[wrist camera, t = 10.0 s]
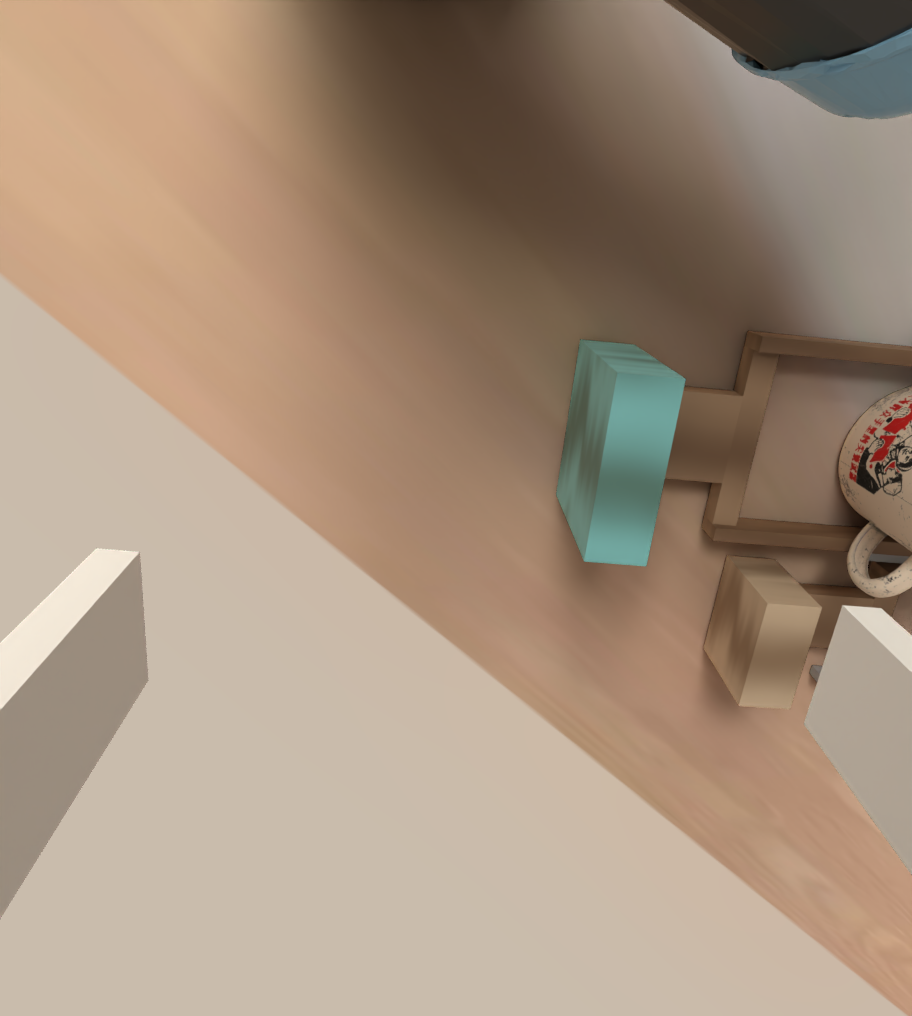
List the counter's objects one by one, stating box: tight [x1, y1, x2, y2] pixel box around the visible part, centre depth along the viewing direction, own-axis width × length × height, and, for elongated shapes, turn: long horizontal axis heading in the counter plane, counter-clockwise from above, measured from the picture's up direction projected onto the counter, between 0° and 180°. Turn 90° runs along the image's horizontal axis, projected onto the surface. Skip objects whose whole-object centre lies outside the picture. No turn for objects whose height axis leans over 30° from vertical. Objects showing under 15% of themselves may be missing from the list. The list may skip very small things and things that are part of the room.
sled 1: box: [556, 331, 912, 566], centre depth 38 cm, size 12×26×9 cm, turn 85°
